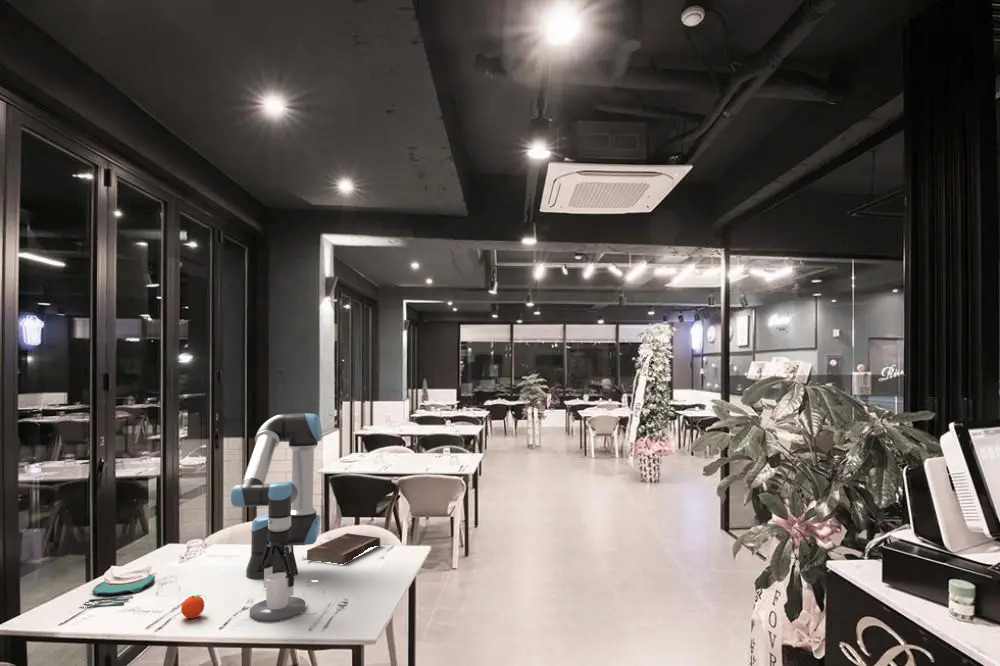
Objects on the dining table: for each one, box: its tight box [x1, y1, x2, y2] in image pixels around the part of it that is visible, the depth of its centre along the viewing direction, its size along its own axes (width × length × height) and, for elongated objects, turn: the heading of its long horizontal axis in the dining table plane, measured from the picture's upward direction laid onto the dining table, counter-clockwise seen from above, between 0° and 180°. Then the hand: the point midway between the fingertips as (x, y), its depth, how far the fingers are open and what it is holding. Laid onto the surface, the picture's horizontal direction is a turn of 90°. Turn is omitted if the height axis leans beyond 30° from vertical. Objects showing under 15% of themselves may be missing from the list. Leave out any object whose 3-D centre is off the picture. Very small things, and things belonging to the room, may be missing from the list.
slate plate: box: [249, 596, 307, 623], centre depth 200 cm, size 18×18×2 cm
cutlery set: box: [78, 573, 156, 609], centre depth 219 cm, size 20×30×2 cm, turn 9°
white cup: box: [265, 572, 288, 610], centre depth 200 cm, size 8×8×10 cm
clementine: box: [180, 594, 207, 619], centre depth 196 cm, size 8×7×7 cm
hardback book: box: [306, 533, 381, 565], centre depth 264 cm, size 29×19×5 cm, turn 159°
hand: (278, 591), depth 200 cm, fingers open, 13 cm apart
